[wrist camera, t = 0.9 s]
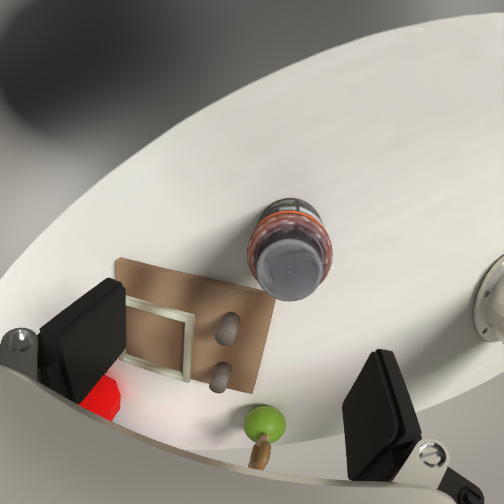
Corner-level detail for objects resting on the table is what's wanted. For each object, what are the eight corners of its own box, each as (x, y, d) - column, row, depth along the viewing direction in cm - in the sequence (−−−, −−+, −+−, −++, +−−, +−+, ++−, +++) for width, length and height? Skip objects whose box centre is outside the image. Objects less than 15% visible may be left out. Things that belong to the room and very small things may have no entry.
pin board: (276, 293, 30) (273, 317, 26) (253, 387, 35) (248, 414, 30) (120, 257, 32) (97, 272, 27) (125, 351, 36) (109, 371, 32)
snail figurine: (241, 419, 37) (224, 487, 26) (253, 393, 35) (236, 468, 24) (276, 429, 37) (268, 497, 26) (292, 403, 35) (286, 478, 24)
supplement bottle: (281, 268, 29) (273, 331, 19) (247, 218, 28) (217, 258, 17) (333, 236, 27) (356, 286, 17) (299, 184, 26) (303, 202, 16)
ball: (84, 354, 38) (57, 383, 31) (126, 378, 38) (103, 411, 31) (86, 385, 41) (64, 412, 34) (125, 406, 41) (105, 437, 34)
